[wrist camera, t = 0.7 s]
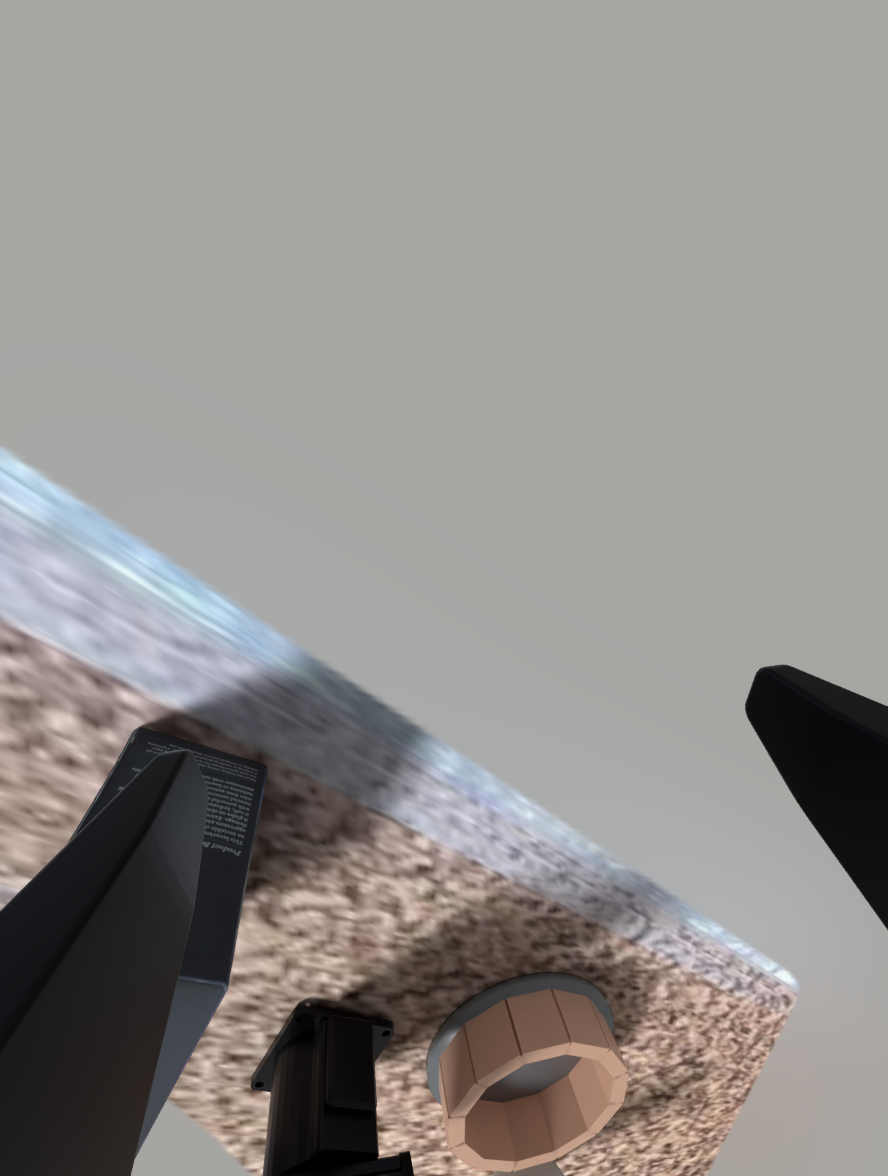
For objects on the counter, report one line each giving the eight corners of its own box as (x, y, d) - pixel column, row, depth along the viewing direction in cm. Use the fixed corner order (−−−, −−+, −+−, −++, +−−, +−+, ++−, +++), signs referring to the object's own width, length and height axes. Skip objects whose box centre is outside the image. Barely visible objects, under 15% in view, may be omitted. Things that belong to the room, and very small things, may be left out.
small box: (194, 927, 26) (111, 1225, 17) (56, 901, 24) (-131, 1223, 15) (277, 764, 24) (237, 997, 15) (134, 721, 22) (-23, 957, 13)
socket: (545, 1115, 38) (565, 1183, 35) (390, 1097, 34) (396, 1171, 30) (644, 991, 35) (676, 1051, 32) (491, 955, 31) (509, 1019, 28)
